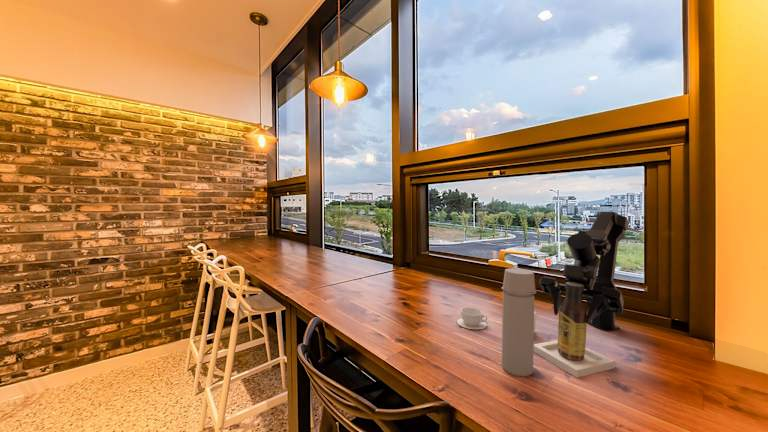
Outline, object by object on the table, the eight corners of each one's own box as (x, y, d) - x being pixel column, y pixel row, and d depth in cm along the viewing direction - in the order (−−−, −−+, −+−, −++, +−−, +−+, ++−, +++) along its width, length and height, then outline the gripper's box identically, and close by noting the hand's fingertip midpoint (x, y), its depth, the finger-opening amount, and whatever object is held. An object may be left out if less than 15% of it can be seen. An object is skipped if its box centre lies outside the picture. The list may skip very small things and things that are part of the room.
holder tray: (566, 344, 83) (567, 338, 83) (614, 368, 70) (614, 361, 70) (532, 350, 79) (532, 344, 79) (576, 377, 66) (576, 370, 66)
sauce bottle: (553, 348, 79) (556, 279, 78) (579, 351, 77) (581, 281, 77) (562, 360, 72) (564, 285, 72) (590, 364, 71) (592, 287, 70)
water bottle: (533, 382, 64) (535, 276, 64) (497, 372, 69) (499, 272, 68) (536, 364, 72) (537, 268, 71) (503, 355, 76) (505, 265, 76)
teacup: (455, 328, 94) (455, 314, 94) (458, 317, 104) (458, 304, 103) (486, 332, 91) (487, 318, 91) (487, 321, 100) (487, 308, 100)
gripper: (541, 249, 83) (524, 293, 77) (622, 258, 69) (610, 312, 62) (551, 271, 89) (536, 314, 82) (628, 283, 74) (617, 336, 68)
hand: (570, 318), depth 73 cm, fingers open, 7 cm apart
